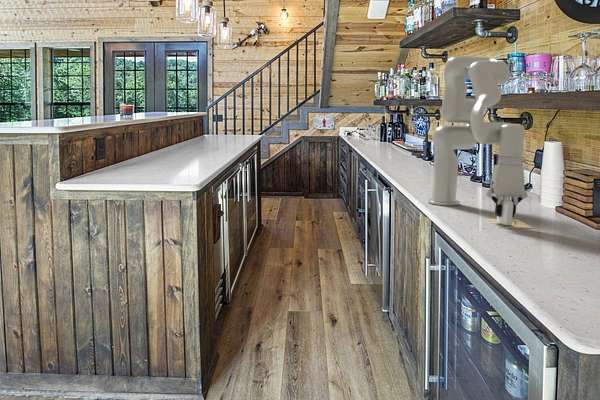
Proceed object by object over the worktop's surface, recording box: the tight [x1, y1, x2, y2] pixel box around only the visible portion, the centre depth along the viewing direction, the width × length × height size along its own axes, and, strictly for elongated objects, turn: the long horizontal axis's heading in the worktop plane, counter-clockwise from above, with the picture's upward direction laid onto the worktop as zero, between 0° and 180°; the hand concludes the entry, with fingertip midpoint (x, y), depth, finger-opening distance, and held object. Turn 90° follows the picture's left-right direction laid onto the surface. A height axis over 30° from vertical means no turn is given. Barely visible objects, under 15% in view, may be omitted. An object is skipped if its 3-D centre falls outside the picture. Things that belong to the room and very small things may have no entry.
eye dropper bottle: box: [496, 196, 513, 225], centre depth 200 cm, size 4×6×12 cm
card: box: [486, 218, 534, 230], centre depth 205 cm, size 14×11×1 cm
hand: (505, 215), depth 200 cm, fingers closed on eye dropper bottle, 3 cm apart
